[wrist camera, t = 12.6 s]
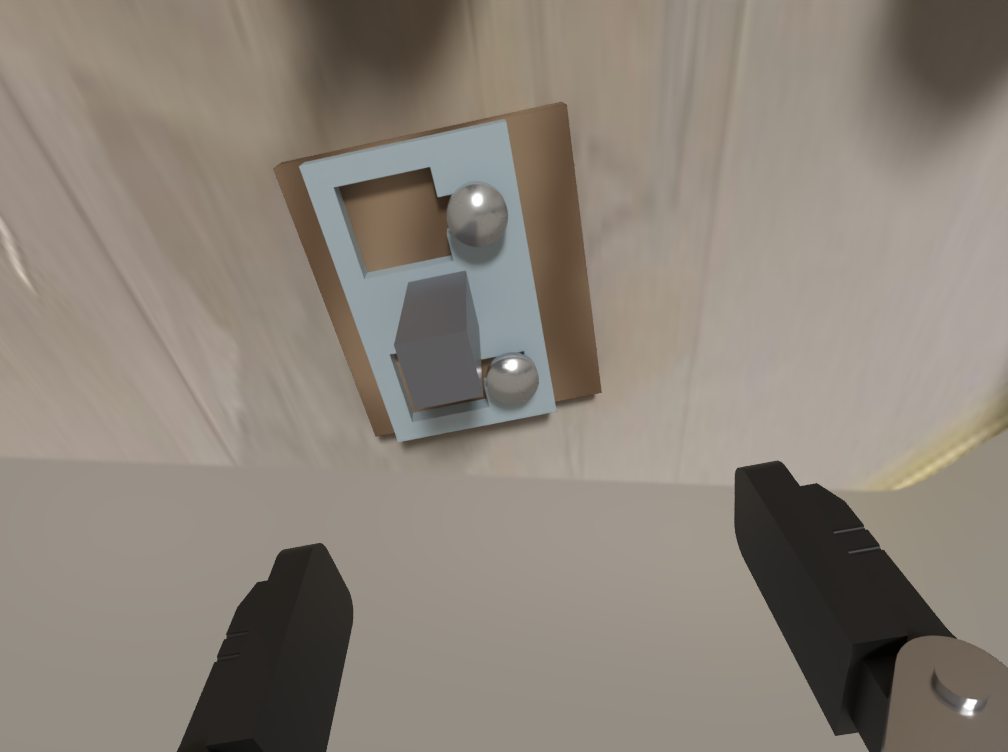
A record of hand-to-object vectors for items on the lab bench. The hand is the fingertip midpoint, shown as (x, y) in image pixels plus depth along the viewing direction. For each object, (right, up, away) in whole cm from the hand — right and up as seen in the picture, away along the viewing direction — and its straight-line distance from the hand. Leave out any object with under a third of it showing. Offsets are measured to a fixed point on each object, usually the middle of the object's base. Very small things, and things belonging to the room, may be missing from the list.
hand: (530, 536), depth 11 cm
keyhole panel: (-4, +7, +19) cm, 21 cm away
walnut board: (-3, +8, +21) cm, 22 cm away
